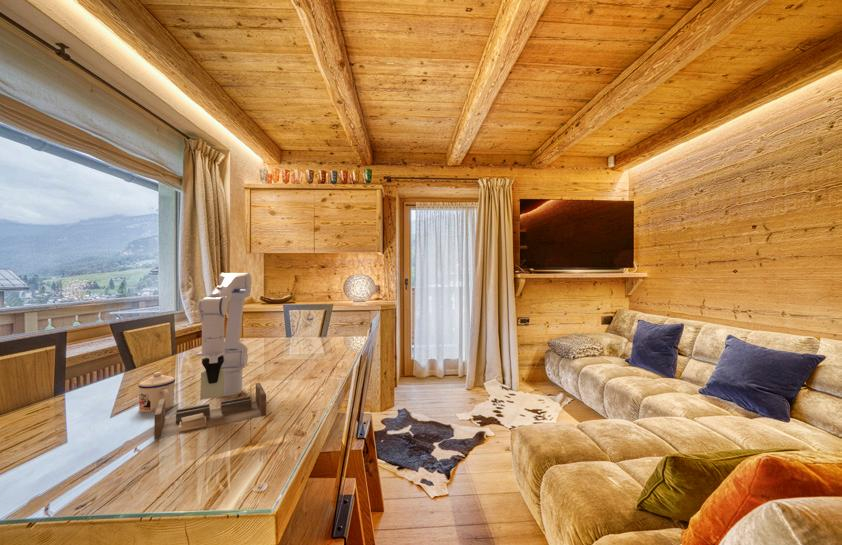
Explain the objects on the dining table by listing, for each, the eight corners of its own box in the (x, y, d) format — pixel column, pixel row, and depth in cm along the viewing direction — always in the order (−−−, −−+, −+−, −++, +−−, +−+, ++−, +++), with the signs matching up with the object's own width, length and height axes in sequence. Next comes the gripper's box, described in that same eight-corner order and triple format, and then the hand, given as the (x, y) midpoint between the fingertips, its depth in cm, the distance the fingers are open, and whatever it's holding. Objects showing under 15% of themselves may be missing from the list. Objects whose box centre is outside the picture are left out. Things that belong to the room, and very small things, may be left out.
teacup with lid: (133, 411, 103) (133, 374, 103) (167, 402, 111) (167, 367, 111) (149, 420, 96) (149, 380, 97) (184, 409, 104) (184, 372, 104)
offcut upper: (181, 422, 90) (181, 417, 90) (202, 417, 93) (202, 412, 93) (182, 426, 88) (182, 422, 88) (204, 421, 91) (204, 416, 91)
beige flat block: (200, 398, 98) (201, 371, 98) (223, 394, 101) (224, 368, 101) (200, 399, 97) (201, 372, 97) (223, 396, 100) (224, 369, 100)
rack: (159, 422, 95) (160, 398, 95) (259, 403, 109) (259, 382, 109) (154, 443, 83) (154, 415, 83) (266, 418, 98) (266, 394, 98)
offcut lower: (179, 426, 90) (179, 421, 90) (205, 420, 94) (205, 416, 94) (179, 431, 87) (179, 427, 87) (206, 426, 90) (206, 421, 90)
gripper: (197, 334, 103) (197, 378, 103) (196, 342, 91) (196, 391, 91) (223, 332, 107) (223, 374, 107) (226, 339, 95) (225, 386, 95)
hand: (212, 382), depth 99 cm, fingers closed on beige flat block, 1 cm apart
